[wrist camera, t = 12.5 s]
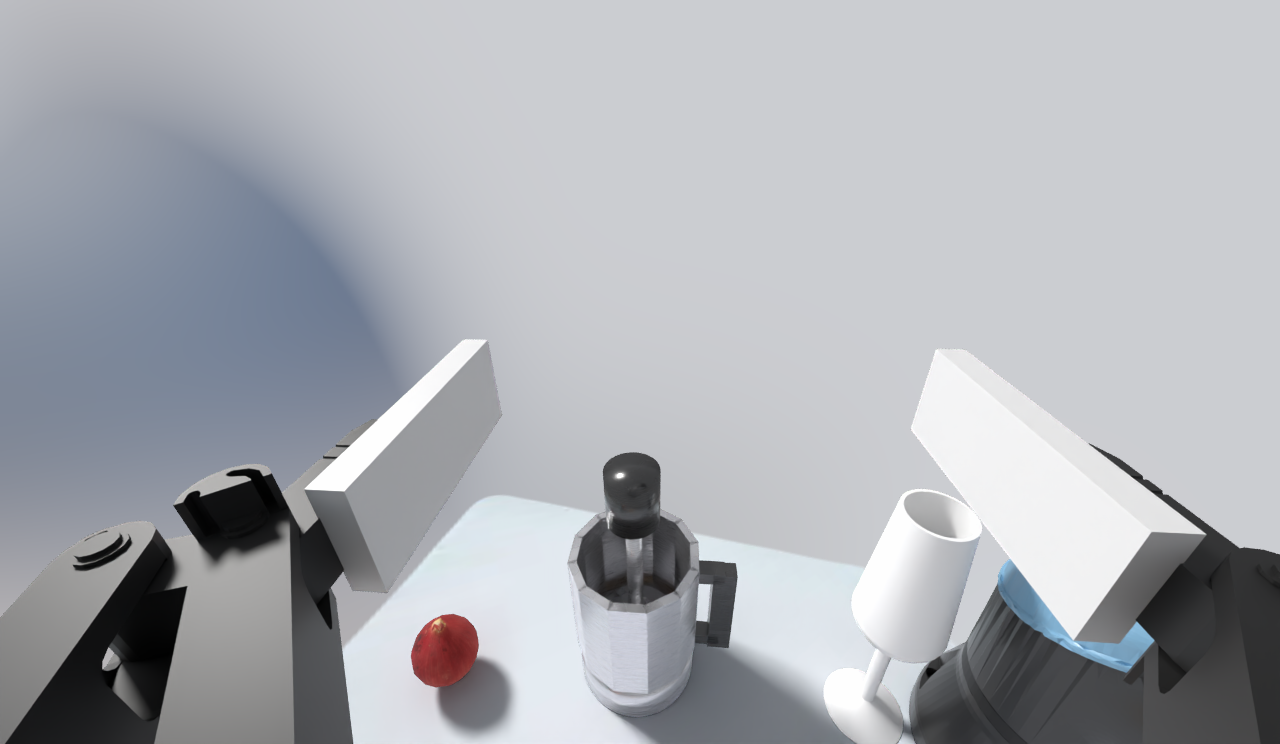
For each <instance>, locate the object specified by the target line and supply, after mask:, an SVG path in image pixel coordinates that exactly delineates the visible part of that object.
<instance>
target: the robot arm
mask: <svg viewBox="0 0 1280 744" xmlns="http://www.w3.org/2000/svg"><path fill="white" fill-rule="evenodd" d="M501 416H502V413H501V408H500V402H499V397H498V391H497V386H496V382H495V376H494V371H493V366H492V360H491V355H490V350H489V345H488V340H465V339H464V340H463V341H462V342H460V343H459V344H458V345H457V346H456V347H455V348H454V349H453V350H452V351H451V352H450V353H449V354H448V355H447V356H446V357H444V358H443V359H442V360H441V361H440V362H439V363H438V364H437V365H436V366H435V367H434V368H433V369H432V370H431V371H429V372H428V373H427V374H426V375H425V376H424V377H423V378H422V379H421V380H420V381H419V382H418V383H417V384H416V385H415V386H414V387H412V388H411V389H410V390H409V391H408V392H407V393H406V394H405V395H404V396H403V397H402V398H401V399H400V400H399V401H397V402H396V403H395V404H394V405H393V406H392V407H391V408H390V409H389V410H388V411H387V412H386V413H385V414H384V415H383V416H381V417H380V418H379V419H378V420H374V419H373V420H370V421H368V422H367V423H365V424H363V425H361V426H359V427H358V428H356V429H354V430H352V431H351V432H350V433H348V434H347V435H346V436H345V437H344V438H343V439H342V440H341V441H339V442H338V443H337V444H336V447H335V448H332V449H331V450H329V451H328V452H327V453H326V454H325V455H324V456H323V459H319V460H318V461H317V462H316V463H315V464H314V465H313V466H312V467H311V468H309V469H308V470H307V471H306V472H305V473H304V474H303V475H302V476H300V477H299V478H298V479H297V480H296V481H295V482H294V483H293V484H291V485H290V486H289V487H288V488H287V489H286V490H285V491H284V492H282V493H281V491H280V489H279V487H278V485H277V483H276V481H275V479H274V477H273V475H272V473H271V471H270V469H269V467H266V466H263V465H260V464H250V465H249V464H248V465H241V466H237V467H233V468H228V469H225V470H223V471H220V472H217V473H215V474H212V475H210V476H208V477H206V478H204V479H202V480H200V481H199V482H197V483H195V484H193V485H192V486H191V487H189V488H188V489H187V490H186V491H184V492H183V493H182V494H181V495H180V496H179V497H178V499H177V500H176V502H175V503H174V505H173V506H174V507H175V509H176V510H177V512H178V513H179V515H180V516H181V518H182V519H183V521H184V522H185V524H186V525H187V527H188V528H189V530H190V531H191V533H192V534H193V535H188V536H182V537H177V538H171V539H166V540H164V539H163V537H162V536H161V535H160V533H159V532H158V531H157V529H156V528H155V526H154V525H153V524H152V523H150V522H145V521H136V522H128V523H123V524H120V525H116V526H113V527H110V528H105V529H103V530H100V531H98V532H97V533H95V534H94V533H93V534H91V535H89V536H87V537H85V538H83V539H82V540H80V541H79V542H78V543H76V544H74V545H73V546H71V547H69V548H68V549H66V550H65V551H63V552H62V553H61V554H60V555H59V556H58V557H57V558H55V559H54V560H53V561H52V562H51V563H50V564H49V565H48V566H47V567H46V568H45V569H44V570H43V571H42V572H41V574H40V575H39V576H38V577H37V578H36V579H35V580H34V581H33V582H32V583H31V585H30V586H29V587H28V588H27V589H26V590H25V591H24V592H23V593H22V594H21V595H20V597H19V598H18V599H17V600H16V601H15V602H14V603H13V604H12V605H11V606H10V608H9V609H8V610H7V611H6V612H5V613H4V614H3V615H2V616H1V617H0V744H353V737H352V729H351V721H350V712H349V704H348V696H347V687H346V679H345V670H344V662H343V654H342V645H341V637H340V629H339V621H338V612H337V604H336V598H335V596H334V594H333V592H332V590H331V586H332V585H333V584H334V582H335V581H336V580H337V578H338V577H339V576H340V575H341V573H342V572H344V574H345V576H346V578H347V580H348V582H349V584H350V587H351V589H352V590H353V591H365V592H379V593H388V592H389V590H390V588H391V587H392V585H393V584H394V582H395V581H396V579H397V578H398V576H399V574H400V573H401V571H402V570H403V568H404V567H405V565H406V564H407V562H408V560H409V559H410V557H411V556H412V554H413V553H414V551H415V550H416V548H417V547H418V545H419V543H420V542H421V540H422V539H423V537H424V536H425V534H426V533H427V531H428V529H429V528H430V526H431V525H432V523H433V522H434V520H435V519H436V517H437V515H438V514H439V512H440V511H441V509H442V508H443V506H444V504H445V503H446V501H447V500H448V498H449V497H450V495H451V494H452V492H453V491H454V489H455V487H456V486H457V484H458V483H459V481H460V480H461V478H462V477H463V475H464V473H465V472H466V470H467V469H468V467H469V466H470V464H471V463H472V461H473V459H474V458H475V456H476V455H477V453H478V452H479V450H480V449H481V447H482V446H483V444H484V442H485V441H486V439H487V438H488V436H489V434H490V433H491V432H492V430H493V428H494V427H495V425H496V424H497V422H498V421H499V419H500V418H501ZM911 430H912V432H913V433H914V434H915V435H916V437H917V438H918V439H919V441H920V442H921V443H922V444H923V446H924V447H925V448H926V450H927V451H928V452H929V454H930V455H931V456H932V458H933V459H934V460H935V461H936V463H937V464H938V465H939V467H940V468H941V469H942V471H943V472H944V473H945V474H946V476H947V477H948V478H949V480H950V481H951V482H952V484H953V485H954V486H955V487H956V489H957V490H958V491H959V493H960V494H961V495H962V497H963V498H964V499H965V500H966V502H967V503H968V504H969V506H970V507H971V508H972V509H973V511H974V512H975V513H976V515H977V516H978V517H979V518H980V520H981V521H982V523H983V524H984V525H985V526H986V528H987V529H988V530H989V532H990V533H991V534H992V535H993V537H994V538H995V539H996V541H997V542H998V543H999V545H1000V546H1001V547H1002V549H1003V550H1004V551H1005V552H1006V554H1007V555H1008V556H1009V558H1010V559H1009V560H1008V561H1007V562H1006V563H1005V564H1004V565H1003V566H1002V568H1001V570H1000V572H999V574H998V578H999V579H998V584H997V586H996V588H995V590H994V592H993V593H992V595H991V597H990V599H989V601H988V603H987V605H986V607H985V609H984V610H983V612H982V614H981V616H980V617H979V619H978V621H977V623H976V625H975V627H974V628H973V630H972V632H971V634H970V636H969V638H968V640H967V641H966V642H965V643H963V644H961V645H959V646H957V647H955V648H953V649H951V650H948V651H946V652H944V653H943V654H941V655H940V656H939V657H937V658H936V659H935V660H932V661H930V662H929V663H928V664H927V665H926V666H925V667H924V668H923V670H922V671H921V673H920V675H919V677H918V679H917V681H916V683H915V685H914V687H913V690H912V693H911V697H910V704H909V715H910V723H911V728H912V733H913V736H914V740H915V743H916V744H1280V555H1279V554H1276V553H1272V552H1269V551H1266V550H1260V549H1251V548H1238V547H1237V546H1236V545H1235V544H1233V543H1232V542H1231V541H1229V540H1228V539H1226V538H1225V537H1224V536H1222V535H1221V534H1220V533H1218V532H1217V531H1216V530H1214V529H1213V528H1212V527H1210V526H1209V525H1208V524H1206V523H1205V522H1204V521H1202V520H1201V519H1200V518H1198V517H1197V516H1195V515H1194V514H1193V513H1191V512H1190V511H1189V510H1188V509H1186V508H1185V507H1184V506H1182V505H1181V504H1180V503H1178V502H1177V501H1175V500H1174V499H1173V498H1171V497H1170V496H1169V495H1163V493H1162V490H1161V489H1159V488H1158V487H1157V486H1155V485H1154V484H1153V483H1151V482H1150V481H1149V480H1143V476H1142V475H1141V474H1139V473H1138V472H1137V471H1135V470H1134V469H1132V468H1131V467H1130V466H1129V465H1127V464H1126V463H1125V462H1123V461H1122V460H1120V459H1118V458H1117V457H1115V456H1113V455H1111V454H1109V453H1107V452H1105V451H1103V450H1101V449H1099V448H1097V447H1095V446H1093V445H1091V444H1088V443H1086V442H1085V441H1084V440H1082V439H1081V438H1080V437H1079V436H1077V435H1076V434H1075V433H1073V432H1072V431H1071V430H1070V429H1068V428H1067V427H1066V426H1064V425H1063V424H1061V423H1060V422H1059V421H1058V420H1056V419H1055V418H1054V417H1053V416H1051V415H1050V414H1049V413H1047V412H1046V411H1045V410H1043V409H1042V408H1041V407H1039V406H1038V405H1037V404H1036V403H1034V402H1033V401H1031V400H1030V399H1029V398H1028V397H1026V396H1025V395H1024V394H1022V393H1021V392H1020V391H1019V390H1017V389H1016V388H1015V387H1013V386H1012V385H1011V384H1009V383H1008V382H1007V381H1006V380H1004V379H1003V378H1002V377H1000V376H999V375H998V374H996V373H995V372H994V371H992V370H991V369H990V368H988V367H987V366H986V365H984V364H983V363H982V362H981V361H979V360H978V359H977V358H975V357H974V356H973V355H972V354H970V353H969V352H968V351H966V350H965V349H936V352H935V355H934V358H933V361H932V364H931V367H930V371H929V374H928V377H927V380H926V383H925V386H924V389H923V392H922V396H921V398H920V402H919V405H918V408H917V411H916V414H915V417H914V420H913V423H912V427H911ZM108 647H109V648H110V649H111V650H112V651H113V652H114V655H113V657H112V658H111V660H110V661H109V663H108V664H107V666H106V667H105V668H104V669H102V661H103V659H104V656H105V654H106V651H107V649H108Z"/></svg>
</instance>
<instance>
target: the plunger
mask: <svg viewBox="0 0 1280 744" xmlns="http://www.w3.org/2000/svg"><path fill="white" fill-rule="evenodd" d="M603 480H604V493H605V508H606V522H607V526H608V528H609V529H610V531H611V532H612V533H614V534H615V535H616V536H618V537H621V538H624V539H626V559H627V582H628V586H626V587H623V588H620V589H618V590H616V591H614V592H613V593H611V594H610V595H609V596H608V597H607V598H606V599H607V600H609V601H610V602H612V603H627V604H642V605H646V604H648V603H650V602H652V601H655V600H657V599H659V598H661V597H663V596H665V595H664V594H663V593H661V592H660V591H658V590H656V589H654V588H652V587H649V586H644V585H643V554H642V538H644V537H647V536H649V535H650V534H652V533H653V532H654V531H655V530H656V529H657V528H658V526H659V523H660V466H659V464H658V463H657V461H656V460H655V459H653V458H652V457H650V456H648V455H645V454H641V453H624V454H620V455H617V456H615V457H614V458H611V459H610V460H609V461H608V462H607V463H606V465H605V466H604V469H603Z"/></svg>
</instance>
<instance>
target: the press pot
mask: <svg viewBox="0 0 1280 744" xmlns="http://www.w3.org/2000/svg"><path fill="white" fill-rule="evenodd" d="M642 554H643V585H644V586H649V587H652V588H654V589H656V590H658V591H660V592H661V593H663V594H664V595H665V596H663V597H661V598H659V599H657V600H655V601H652V602H650V603H648V604H646V605H642V604H627V603H612V602H610V601H609V600H607V599H606V598H607V597H608V596H609V595H610V594H611V593H613V592H614V591H616V590H618V589H620V588H623V587H626V586H628V582H627V559H626V539H624V538H621V537H618V536H616V535H615V534H614V533H612V532H611V531H610V529H609V528H608V526H607V522H606V511H605V512H603V513H600V514H597V515H595V516H594V517H593V518H592V519H591V520H590V521H589V522H588V523H587V524H586V525H585V526H584V527H583V528H582V529H581V530H580V531H579V532H578V533H577V534H576V535H575V537H574V541H573V544H572V548H571V552H570V556H569V559H568V562H567V563H568V570H569V578H570V585H571V593H572V600H573V608H574V615H575V623H576V630H577V638H578V643H579V646H580V648H581V651H582V659H583V667H584V674H585V677H586V681H587V683H588V686H589V688H590V689H591V691H592V693H593V694H594V696H595V697H596V698H597V699H598V700H599V701H600V702H601V703H602V704H603V705H604V706H605V707H607V708H608V709H610V710H612V711H614V712H616V713H618V714H621V715H624V716H630V717H643V716H649V715H653V714H656V713H658V712H660V711H662V710H664V709H666V708H667V707H669V706H670V705H671V704H672V703H673V702H675V701H676V700H677V698H678V697H679V696H680V695H681V693H682V692H683V690H684V689H685V687H686V685H687V683H688V680H689V677H690V673H691V668H692V654H693V651H694V644H695V643H703V644H707V646H709V647H723V648H729V640H730V632H731V625H732V617H733V609H734V601H735V593H736V585H737V569H736V563H724V562H716V561H700V560H699V549H698V541H697V540H696V538H695V537H694V536H693V534H692V533H691V532H690V530H689V529H688V527H687V526H686V525H685V523H684V522H683V521H682V519H680V518H678V517H676V516H674V515H672V514H670V513H668V512H666V511H664V510H661V509H660V523H659V526H658V528H657V529H656V530H655V531H654V532H653V533H652V534H650V535H649V536H647V537H644V538H642ZM699 584H711V587H710V599H709V610H708V622H703V621H696V614H697V600H698V585H699Z"/></svg>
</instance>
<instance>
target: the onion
mask: <svg viewBox="0 0 1280 744" xmlns="http://www.w3.org/2000/svg"><path fill="white" fill-rule="evenodd" d="M478 647H479V644H478V637H477V632H476V630H475V628H474V626H473V625H472V624H471V623H470V622H469V621H468V620H467V619H466V618H465V617H461V616H458V615H455V614H449V615H442V616H440V617H437V618H435V619H433V620H432V621H430V622H429V623H427V624H426V625H425V626H424V627H423V629H422V630H421V631H420V633H419V634H418V635H417V637H416V640H415V643H414V646H413V649H412V653H411V659H412V665H413V670H414V674H415V675H416V676H417V677H418V678H419V679H420V680H421V681H422V682H423V683H425V684H426V685H429V686H433V687H442V686H450V685H452V684H454V683H455V682H457V681H459V680H461V679H462V678H463V677H464V676H465V675H466V674H467V673H468V672H469V670H470V669H471V667H472V665H473V663H474V662H475V659H476V657H477V652H478Z"/></svg>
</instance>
